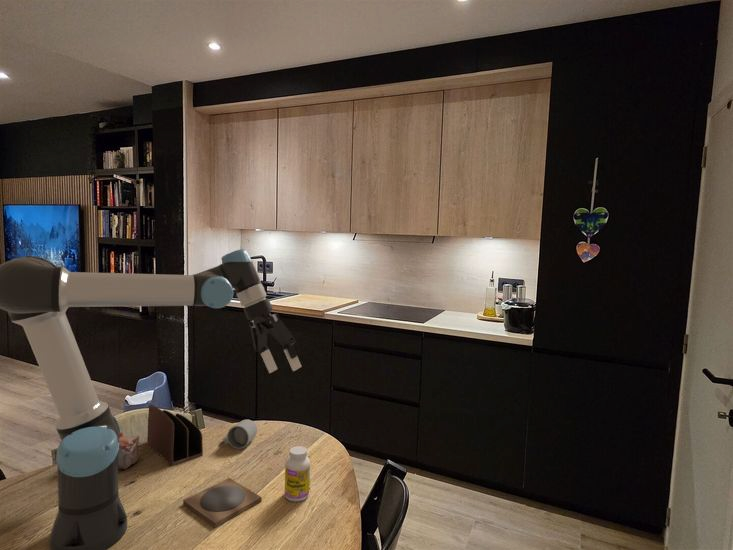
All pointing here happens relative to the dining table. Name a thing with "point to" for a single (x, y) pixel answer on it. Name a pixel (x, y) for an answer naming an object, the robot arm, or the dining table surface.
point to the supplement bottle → (297, 474)
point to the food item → (127, 451)
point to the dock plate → (222, 502)
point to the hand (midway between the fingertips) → (285, 370)
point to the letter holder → (173, 436)
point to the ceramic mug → (241, 434)
